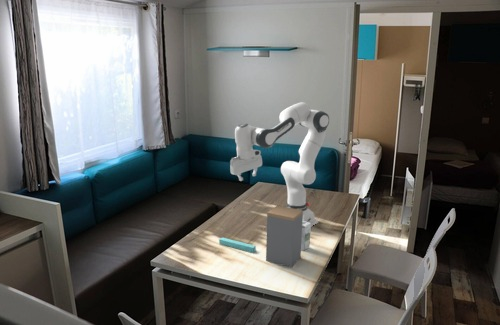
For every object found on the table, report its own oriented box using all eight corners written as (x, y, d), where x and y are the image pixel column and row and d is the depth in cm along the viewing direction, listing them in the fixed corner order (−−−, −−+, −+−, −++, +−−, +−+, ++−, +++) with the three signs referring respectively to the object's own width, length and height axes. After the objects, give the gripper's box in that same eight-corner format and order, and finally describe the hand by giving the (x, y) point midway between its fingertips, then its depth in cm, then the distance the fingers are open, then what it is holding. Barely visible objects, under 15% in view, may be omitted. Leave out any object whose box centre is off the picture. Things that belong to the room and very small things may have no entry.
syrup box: (300, 244, 236) (301, 220, 232) (309, 247, 232) (311, 222, 228) (294, 248, 231) (296, 223, 228) (304, 251, 228) (305, 226, 224)
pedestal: (266, 260, 217) (267, 212, 210) (276, 251, 227) (277, 205, 221) (291, 267, 210) (293, 218, 204) (300, 257, 221) (302, 210, 214)
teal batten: (219, 244, 235) (219, 239, 234) (222, 242, 238) (222, 237, 237) (252, 253, 225) (252, 247, 225) (255, 251, 228) (255, 245, 227)
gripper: (233, 159, 223) (236, 184, 227) (262, 150, 235) (265, 174, 239) (226, 157, 228) (229, 182, 232) (255, 149, 240) (257, 172, 244)
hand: (247, 178), depth 235 cm, fingers open, 8 cm apart
